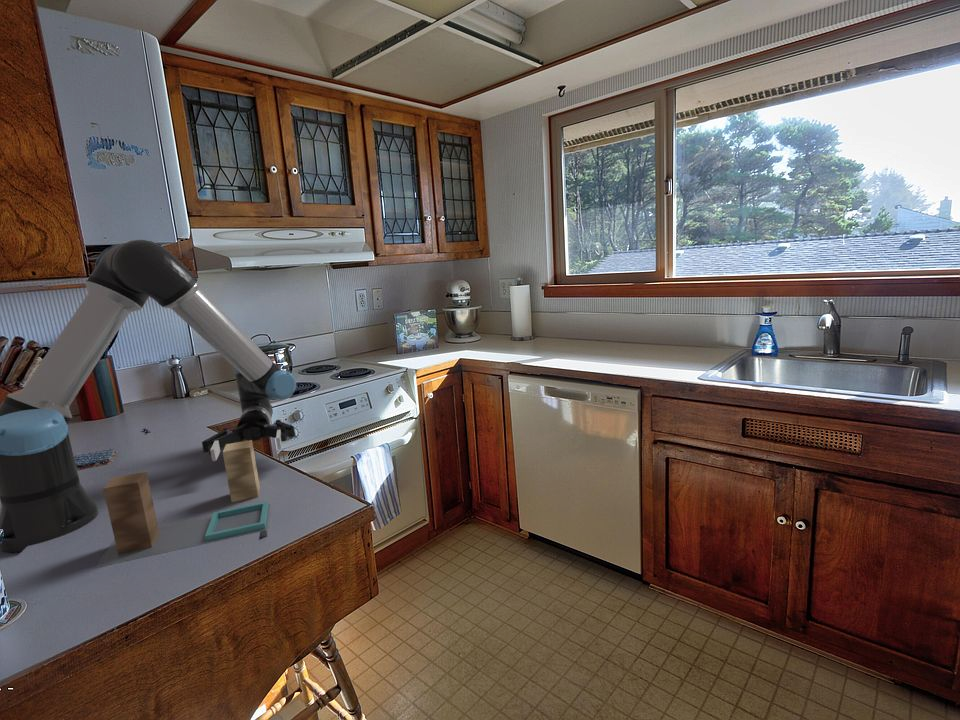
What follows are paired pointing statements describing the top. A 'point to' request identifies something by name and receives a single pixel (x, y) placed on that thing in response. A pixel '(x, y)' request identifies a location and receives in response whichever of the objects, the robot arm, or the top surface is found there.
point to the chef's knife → (146, 430)
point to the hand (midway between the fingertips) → (246, 449)
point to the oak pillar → (241, 470)
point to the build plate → (199, 532)
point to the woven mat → (94, 459)
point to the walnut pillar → (131, 512)
